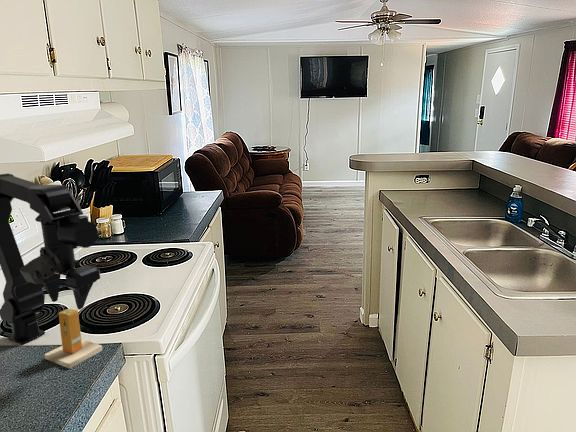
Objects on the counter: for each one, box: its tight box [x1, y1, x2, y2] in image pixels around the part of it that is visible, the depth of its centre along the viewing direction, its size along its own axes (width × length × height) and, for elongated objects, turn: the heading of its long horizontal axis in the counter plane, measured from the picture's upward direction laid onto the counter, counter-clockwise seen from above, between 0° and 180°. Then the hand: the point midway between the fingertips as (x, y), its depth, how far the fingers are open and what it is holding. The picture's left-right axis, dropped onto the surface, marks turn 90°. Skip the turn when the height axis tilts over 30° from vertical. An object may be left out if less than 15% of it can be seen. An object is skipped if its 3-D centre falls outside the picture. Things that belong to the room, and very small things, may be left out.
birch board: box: [44, 338, 104, 369], centre depth 107 cm, size 9×9×1 cm
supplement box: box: [58, 308, 82, 354], centre depth 106 cm, size 3×3×10 cm
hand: (67, 304), depth 104 cm, fingers open, 9 cm apart
